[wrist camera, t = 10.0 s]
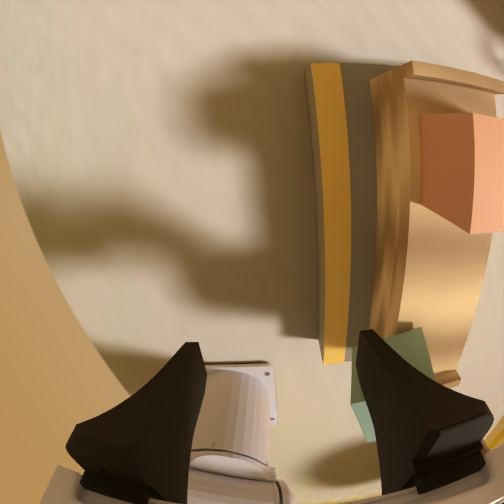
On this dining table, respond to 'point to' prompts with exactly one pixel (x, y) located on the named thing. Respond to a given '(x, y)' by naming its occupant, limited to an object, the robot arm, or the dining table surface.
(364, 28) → the dining table surface
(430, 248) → the tan piece
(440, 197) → the brick block
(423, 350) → the green cube
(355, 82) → the dock
